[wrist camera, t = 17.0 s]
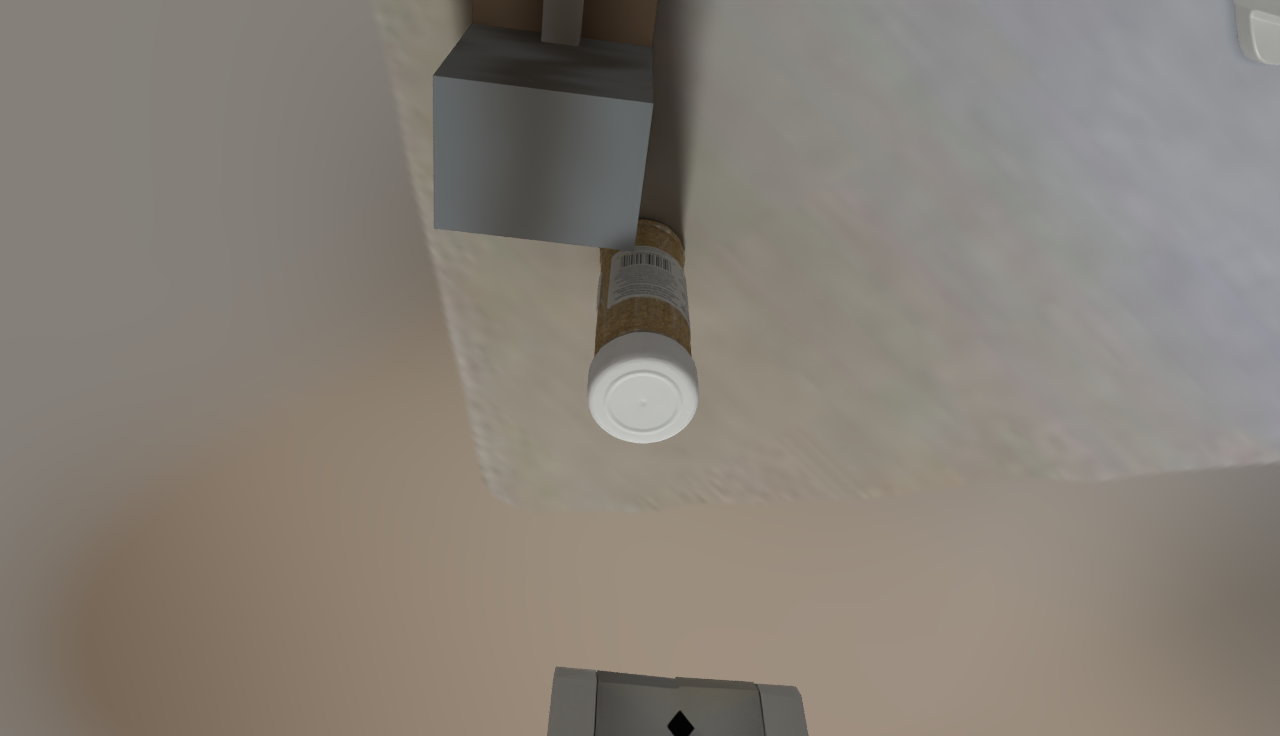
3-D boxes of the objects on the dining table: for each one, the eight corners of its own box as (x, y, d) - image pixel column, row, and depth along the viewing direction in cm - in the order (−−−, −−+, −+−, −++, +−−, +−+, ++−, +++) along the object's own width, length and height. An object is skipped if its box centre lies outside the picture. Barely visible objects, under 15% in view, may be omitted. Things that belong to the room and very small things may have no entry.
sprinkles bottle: (587, 275, 47) (569, 426, 36) (619, 202, 45) (611, 340, 33) (665, 304, 48) (671, 461, 37) (700, 234, 45) (718, 379, 34)
